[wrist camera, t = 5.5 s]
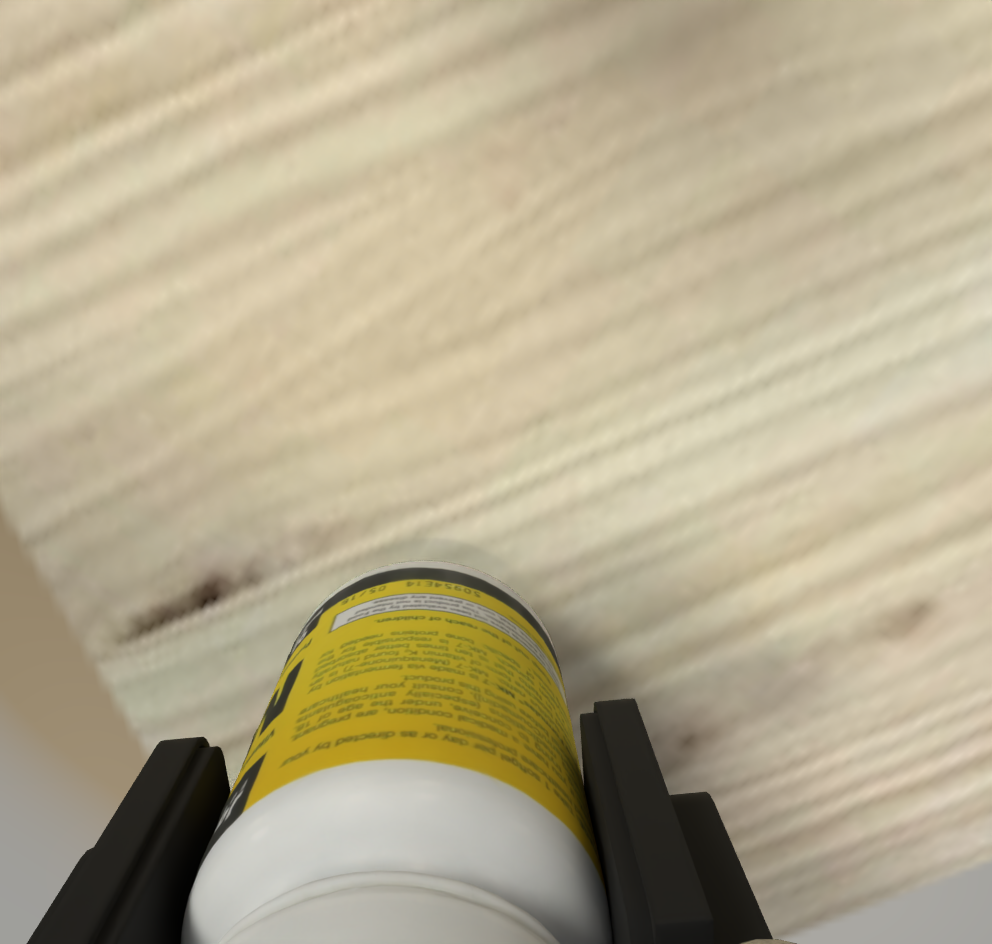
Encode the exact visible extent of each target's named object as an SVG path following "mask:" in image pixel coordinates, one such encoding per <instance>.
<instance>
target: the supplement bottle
mask: <svg viewBox="0 0 992 944" xmlns="http://www.w3.org/2000/svg"><path fill="white" fill-rule="evenodd" d="M181 944H613V940H612V928H611V919H610V913H609V906H608V900H607V894H606V887H605V882H604V877H603V873H602V868H601V863H600V859H599V854H598V850H597V845H596V841H595V836H594V832H593V827H592V822H591V818H590V813H589V808H588V804H587V799H586V794H585V789H584V785H583V780H582V775H581V770H580V765H579V760H578V755H577V751H576V746H575V741H574V736H573V731H572V725H571V720H570V715H569V711H568V706H567V700H566V695H565V689H564V684H563V680H562V675H561V670H560V666H559V661H558V658H557V655H556V651H555V648H554V646H553V643H552V641H551V638H550V636H549V634H548V632H547V630H546V628H545V627H544V625H543V623H542V622H541V620H540V619H539V617H538V616H537V614H536V613H535V612H534V610H533V609H532V608H531V607H530V606H529V604H528V603H527V602H526V601H525V600H524V599H523V598H521V597H520V596H519V595H518V594H517V593H516V592H515V591H513V590H512V589H511V588H510V587H508V586H507V585H505V584H503V583H502V582H500V581H499V580H497V579H495V578H494V577H492V576H490V575H488V574H485V573H483V572H481V571H479V570H476V569H473V568H470V567H467V566H464V565H459V564H454V563H448V562H442V561H425V560H424V561H409V562H401V563H395V564H391V565H387V566H383V567H379V568H376V569H373V570H371V571H368V572H366V573H364V574H361V575H359V576H357V577H355V578H354V579H352V580H350V581H348V582H347V583H345V584H343V585H342V586H341V587H339V588H338V589H337V590H335V591H334V592H333V593H331V594H330V595H329V596H328V597H327V598H326V599H325V600H324V601H323V602H322V603H321V604H320V605H319V606H318V607H317V608H316V610H315V611H314V612H313V613H312V614H311V616H310V617H309V619H308V620H307V622H306V623H305V625H304V626H303V628H302V630H301V632H300V633H299V635H298V637H297V639H296V641H295V642H294V645H293V647H292V649H291V652H290V654H289V655H288V658H287V660H286V663H285V666H284V669H283V671H282V673H281V676H280V679H279V681H278V683H277V686H276V688H275V690H274V692H273V695H272V697H271V700H270V702H269V704H268V707H267V709H266V711H265V714H264V716H263V718H262V720H261V723H260V725H259V727H258V729H257V730H256V732H255V734H254V736H253V739H252V743H251V745H250V748H249V751H248V754H247V756H246V758H245V761H244V763H243V766H242V769H241V771H240V773H239V775H238V778H237V780H236V782H235V784H234V786H233V789H232V791H231V793H230V796H229V798H228V800H227V802H226V804H225V806H224V808H223V810H222V812H221V815H220V818H219V821H218V824H217V827H216V829H215V832H214V834H213V836H212V838H211V840H210V842H209V844H208V846H207V849H206V851H205V853H204V856H203V858H202V860H201V862H200V865H199V867H198V870H197V874H196V877H195V881H194V884H193V886H192V889H191V892H190V894H189V898H188V902H187V906H186V910H185V914H184V920H183V925H182V932H181Z"/></svg>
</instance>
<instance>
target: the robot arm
mask: <svg viewBox="0 0 992 944" xmlns="http://www.w3.org/2000/svg"><path fill="white" fill-rule="evenodd" d="M580 729H581V744H582V759H583V775H584V789H585V794H586V799H587V804H588V808H589V813H590V818H591V822H592V827H593V832H594V836H595V841H596V845H597V850H598V854H599V859H600V863H601V868H602V873H603V877H604V882H605V887H606V894H607V900H608V906H609V913H610V919H611V928H612V940H613V944H796V943H792V942H787V941H783V940H778V939H773V938H772V936H771V933H770V931H769V929H768V926H767V924H766V922H765V920H764V917H763V915H762V913H761V910H760V908H759V906H758V903H757V901H756V899H755V896H754V894H753V892H752V889H751V887H750V885H749V882H748V880H747V878H746V875H745V873H744V871H743V868H742V866H741V864H740V861H739V859H738V857H737V855H736V852H735V850H734V848H733V845H732V843H731V841H730V838H729V836H728V834H727V831H726V829H725V827H724V824H723V822H722V820H721V817H720V815H719V813H718V810H717V808H716V806H715V803H714V801H713V799H712V798H711V796H710V794H708V793H707V792H699V793H688V794H677V795H669V793H668V791H667V788H666V785H665V782H664V779H663V776H662V774H661V771H660V768H659V765H658V762H657V760H656V757H655V754H654V751H653V748H652V746H651V743H650V740H649V737H648V734H647V731H646V729H645V726H644V723H643V720H642V717H641V715H640V712H639V709H638V706H637V703H636V701H635V699H633V698H632V699H621V700H609V701H598V702H594V713H585V714H580ZM230 793H231V792H230V787H229V781H228V776H227V771H226V765H225V760H224V756H223V752H222V750H221V748H220V747H218V746H216V747H210V746H209V743H208V741H207V739H206V738H204V737H196V738H184V739H173V740H164V741H160V742H159V744H158V745H157V746H156V748H155V749H154V751H153V753H152V754H151V756H150V757H149V759H148V761H147V762H146V764H145V765H144V767H143V769H142V770H141V772H140V774H139V776H138V777H137V778H136V780H135V782H134V783H133V785H132V787H131V788H130V790H129V791H128V793H127V795H126V796H125V798H124V800H123V801H122V803H121V804H120V806H119V807H118V809H117V811H116V813H115V814H114V816H113V817H112V819H111V820H110V822H109V824H108V825H107V827H106V829H105V830H104V832H103V833H102V835H101V837H100V838H99V840H98V841H97V843H96V845H95V847H94V848H91V849H89V850H87V851H86V853H85V854H84V855H83V856H82V857H81V859H80V860H79V862H78V863H77V865H76V866H75V868H74V869H73V871H72V873H71V874H70V876H69V877H68V879H67V881H66V882H65V884H64V885H63V887H62V889H61V890H60V892H59V893H58V895H57V896H56V898H55V900H54V901H53V903H52V904H51V906H50V908H49V909H48V911H47V913H46V914H45V916H44V917H43V919H42V920H41V922H40V923H39V925H38V927H37V928H36V930H35V931H34V933H33V935H32V936H31V938H30V939H29V941H28V943H27V944H181V932H182V925H183V920H184V914H185V910H186V906H187V902H188V898H189V894H190V892H191V889H192V886H193V884H194V881H195V877H196V874H197V870H198V867H199V865H200V862H201V860H202V858H203V856H204V853H205V851H206V849H207V846H208V844H209V842H210V840H211V838H212V836H213V834H214V832H215V829H216V827H217V824H218V821H219V818H220V815H221V812H222V810H223V808H224V806H225V804H226V802H227V800H228V798H229V796H230Z"/></svg>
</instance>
